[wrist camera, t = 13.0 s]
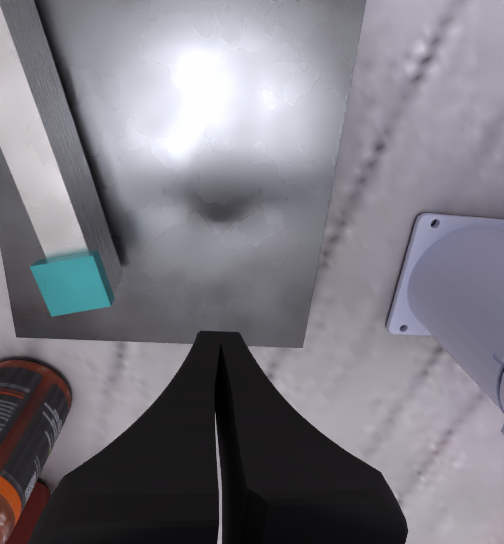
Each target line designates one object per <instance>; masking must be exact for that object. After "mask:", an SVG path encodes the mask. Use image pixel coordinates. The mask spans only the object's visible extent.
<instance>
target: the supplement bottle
mask: <svg viewBox="0 0 504 544" xmlns="http://www.w3.org/2000/svg"><path fill="white" fill-rule="evenodd" d="M70 407H71V395H70V392H69V388H68V387H67V385H66V383H65V382H64V380H63V379H62V378H61V377H60V376H59V375H57V374H56V373H55V372H54V371H52V370H50V369H49V368H47V367H45V366H43V365H40V364H38V363H34V362H30V361H24V360H9V361H3V362H0V544H5V543H6V541H7V540H8V538H9V536H10V535H11V533H12V531H13V529H14V527H15V525H16V523H17V521H18V519H19V516H20V514H21V513H22V510H23V508H24V507H25V504H26V502H27V500H28V498H29V496H30V494H31V492H32V490H33V488H34V485H35V483H36V481H37V479H38V477H39V475H40V473H41V471H42V469H43V466H44V464H45V462H46V460H47V458H48V456H49V454H50V452H51V450H52V448H53V446H54V443H55V441H56V439H57V437H58V435H59V433H60V431H61V428H62V426H63V425H64V422H65V420H66V417H67V415H68V413H69V410H70Z"/></svg>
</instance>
